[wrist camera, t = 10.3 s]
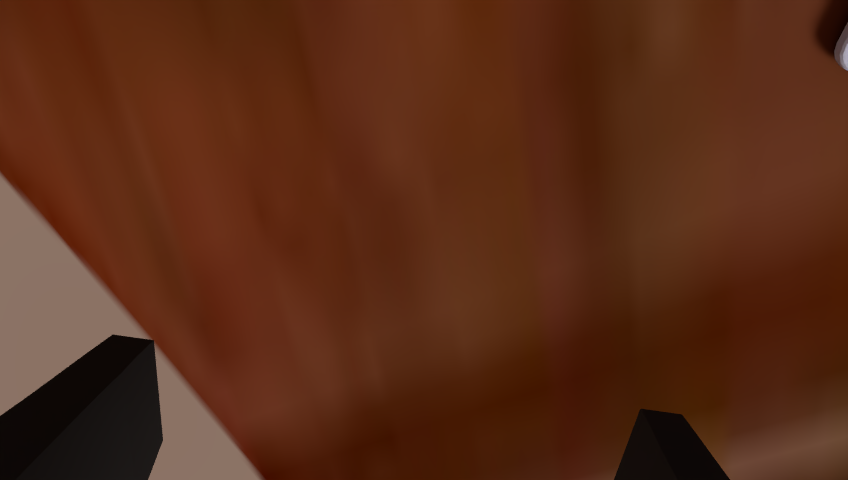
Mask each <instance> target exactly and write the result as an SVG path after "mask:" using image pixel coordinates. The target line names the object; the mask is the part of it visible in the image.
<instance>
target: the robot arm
mask: <svg viewBox="0 0 848 480" xmlns="http://www.w3.org/2000/svg"><path fill="white" fill-rule="evenodd" d="M834 54H835V60H836V61H837V63H838V64H839V66H841V67H842V68H844V69H845V70H847V71H848V22H847V24H846V26H845V28H844V30H843V32H842V34H841V36H840V38H839V40H838V42H837V44H836V47H835V50H834ZM162 441H163V437H162V425H161V414H160V403H159V393H158V381H157V370H156V359H155V348H154V340H148V339H140V338H133V337H126V336H119V335H112V336H110V337H109V338H107V339H106V340H105V341H103V342H102V343H100V344H99V345H98V346H96V347H95V348H93V349H92V350H91V351H89V352H88V353H86V354H85V355H84V356H82V357H81V358H80V359H78V360H77V361H75V362H74V363H73V364H71V365H70V366H69V367H67V368H66V369H65V370H63V371H62V372H61V373H59V374H58V375H56V376H55V377H54V378H53V379H51V380H50V381H48V382H47V383H46V384H44V385H43V386H41V387H40V388H39V389H38V390H36V391H35V392H33V393H32V394H31V395H29V396H28V397H26V398H25V399H24V400H22V401H21V402H19V403H18V404H16V405H15V406H14V407H12V408H11V409H9V410H8V411H7V412H5V413H4V414H2V415H1V416H0V480H148V478H149V475H150V473H151V470H152V468H153V465H154V462H155V460H156V457H157V454H158V452H159V449H160V446H161V444H162ZM614 480H730V479H729V478H728V476H727V475H726V474H725V472H724V471H723V470H722V468H721V467H720V466H719V464H718V463H717V461H716V460H715V459H714V457H713V456H712V455H711V453H710V452H709V451H708V449H707V448H706V446H705V445H704V444H703V442H702V441H701V440H700V438H699V437H698V436H697V434H696V433H695V431H694V430H693V429H692V427H691V426H690V425H689V423H688V422H687V421H686V419H685V418H684V417H683V415H681V414H674V413H667V412H660V411H653V410H646V409H640V411H639V414H638V417H637V419H636V422H635V425H634V428H633V430H632V433H631V436H630V438H629V441H628V444H627V446H626V449H625V452H624V454H623V457H622V460H621V463H620V465H619V468H618V471H617V473H616V476H615V479H614Z"/></svg>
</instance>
